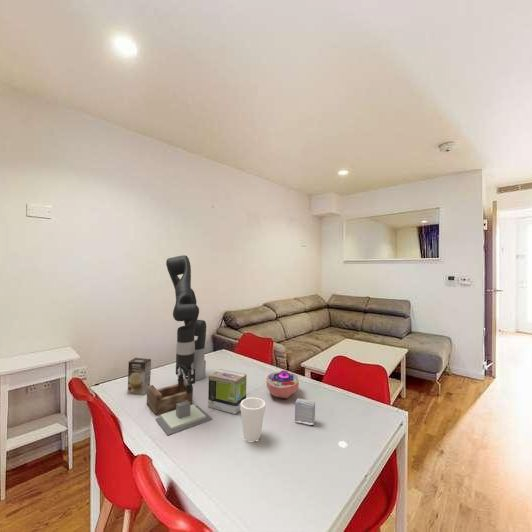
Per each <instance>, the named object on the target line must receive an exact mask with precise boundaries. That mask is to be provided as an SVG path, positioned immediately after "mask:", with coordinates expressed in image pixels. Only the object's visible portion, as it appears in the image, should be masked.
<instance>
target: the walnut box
mask: <svg viewBox="0 0 532 532" xmlns="http://www.w3.org/2000/svg"><path fill="white" fill-rule="evenodd" d="M186 388H187V383H186V380H184V385H183V386H180V387H179V386H178V383H175V384H172V385H169V386H165V387H161V388H160V387H159V388H156V387H155V386H154V385H151V384H150V386H147V393H146V406H147V407H148V409H149V410H150V411H151V412H152V414H153V415H154V416H156V417H157V416H160V415H161V414H165V413H168V412H171V411H174V410H176V404H177V403H181V402H184V401H187V400H188V401H189V402H190V403H191V404H190V405H194V401H193V399H194V395H193V394H194V386H193V385H192V393H189V394H187V393H186Z"/></svg>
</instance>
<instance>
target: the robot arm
mask: <svg viewBox="0 0 532 532" xmlns="http://www.w3.org/2000/svg"><path fill="white" fill-rule="evenodd" d="M165 265H166V268H167V271H168V274H169V277H170V280H171V282H172V285H173V287H174V291H175V304H174V308H173V311H172V317H173V319H174V320H175V322H183V324H184V325H182V326H179V327H178V328H177V331H176V346H175V350H176V351H175V354H176V355H175V357H176V358H175V375H176V376H177V384H178V386H179V387H180V386H183V385H184V380H186V383H187V388H186V393H187V394H189V393H192V386H193V385H194V384H196V381H200V380H203V379H204V378H206V371H207V370H206V367H207V361H206V359H205V358H206V357H205V354H206V351H205V349H206V348H205V346H206V336H207V323H206V321H205V320H204V319H198V318H199V315H200V308H199V306H198V304H197V298H196V294H195V291H194V290H193V288H192V269H191V262H190V258H189V257H188V255H185V254H183V255H177V256H174V257H173V256H172V257H169V258H167V259H166V264H165ZM180 275H181V277H179V276H180ZM195 337H197V338H196V339H195Z"/></svg>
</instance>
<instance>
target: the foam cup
mask: <svg viewBox="0 0 532 532" xmlns="http://www.w3.org/2000/svg"><path fill="white" fill-rule="evenodd" d="M265 412H266V401H265V400H263V399H261V398H260V397H246V399H244V400H242V401H241V403H240V415H241V417H240V418H241V424H242V433H243V434H242V435H243V440H244V439H246V440H247V441H256V440H258V439H259V438H260V439H261V436H262V435H261V434H262V428H263V421H264V415H265ZM247 441H246V442H247ZM258 441H259V440H258Z"/></svg>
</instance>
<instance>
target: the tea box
mask: <svg viewBox="0 0 532 532" xmlns="http://www.w3.org/2000/svg"><path fill="white" fill-rule="evenodd" d="M207 390H208V392H207V394H208V397H207V403H208V405H207V407H208V408H212V409H215V410H218V411H222V412H226V413H229V414H234V415H237V414H238V413H239V412H241V410H240V403H241V401H242V400H244V399H246V398H247V373H242V372H238V371H231V370H226V369H218V370H216V371H215V372H213V373H211V374H209V375H208V389H207ZM238 411H239V412H238Z"/></svg>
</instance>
